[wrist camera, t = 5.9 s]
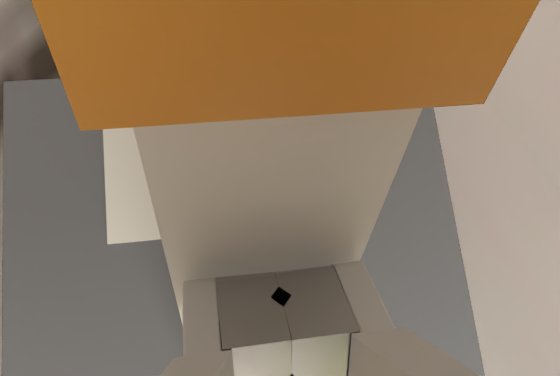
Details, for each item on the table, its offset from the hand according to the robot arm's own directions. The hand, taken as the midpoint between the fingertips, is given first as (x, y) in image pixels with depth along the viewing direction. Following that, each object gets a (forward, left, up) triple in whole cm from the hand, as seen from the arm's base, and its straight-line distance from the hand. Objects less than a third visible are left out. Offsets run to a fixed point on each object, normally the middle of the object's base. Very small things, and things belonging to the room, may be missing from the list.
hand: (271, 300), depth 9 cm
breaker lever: (+1, +1, -6) cm, 6 cm away
